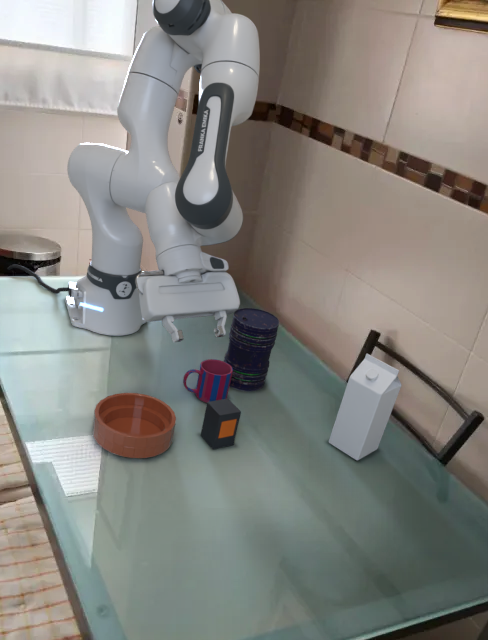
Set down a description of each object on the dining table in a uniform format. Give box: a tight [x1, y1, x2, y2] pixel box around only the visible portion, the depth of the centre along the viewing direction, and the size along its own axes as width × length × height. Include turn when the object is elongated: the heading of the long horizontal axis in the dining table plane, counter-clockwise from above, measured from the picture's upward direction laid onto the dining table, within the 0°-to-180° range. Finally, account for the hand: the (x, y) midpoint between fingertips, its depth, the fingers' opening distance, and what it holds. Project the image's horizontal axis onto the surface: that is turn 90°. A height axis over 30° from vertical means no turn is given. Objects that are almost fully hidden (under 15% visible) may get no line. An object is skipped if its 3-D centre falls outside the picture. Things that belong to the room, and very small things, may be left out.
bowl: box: [92, 392, 177, 459], centre depth 118 cm, size 14×14×5 cm
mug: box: [182, 358, 233, 404], centre depth 133 cm, size 7×10×7 cm
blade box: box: [200, 398, 242, 450], centre depth 120 cm, size 5×5×8 cm
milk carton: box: [328, 353, 402, 461], centre depth 124 cm, size 7×7×19 cm
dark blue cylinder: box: [223, 307, 280, 392], centre depth 140 cm, size 10×10×15 cm
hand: (200, 338), depth 123 cm, fingers open, 8 cm apart
